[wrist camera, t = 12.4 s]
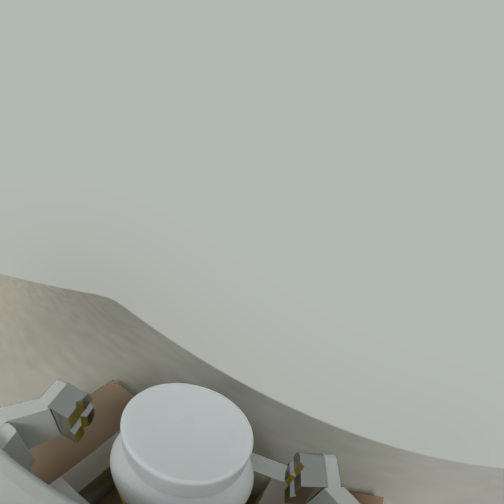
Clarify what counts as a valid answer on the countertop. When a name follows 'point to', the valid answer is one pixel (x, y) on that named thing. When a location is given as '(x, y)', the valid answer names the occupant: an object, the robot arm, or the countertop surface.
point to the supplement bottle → (182, 448)
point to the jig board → (98, 459)
